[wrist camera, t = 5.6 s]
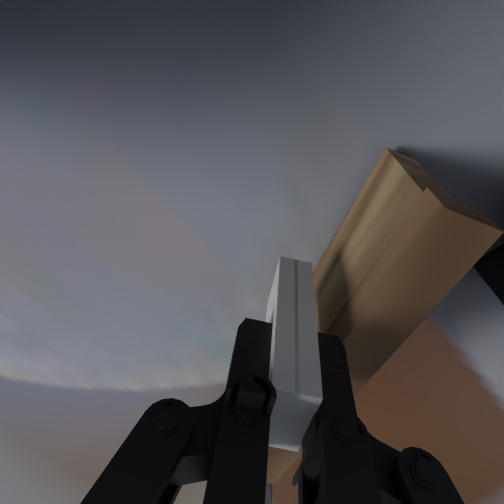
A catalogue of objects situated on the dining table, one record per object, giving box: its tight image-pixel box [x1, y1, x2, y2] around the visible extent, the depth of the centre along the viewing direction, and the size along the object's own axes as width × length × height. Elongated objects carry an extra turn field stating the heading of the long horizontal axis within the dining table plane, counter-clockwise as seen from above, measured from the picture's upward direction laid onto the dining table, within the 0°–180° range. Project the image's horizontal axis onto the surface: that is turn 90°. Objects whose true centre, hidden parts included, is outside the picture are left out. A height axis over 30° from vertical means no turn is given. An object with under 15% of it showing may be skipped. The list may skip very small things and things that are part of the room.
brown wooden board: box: [266, 148, 504, 484], centre depth 17 cm, size 2×17×7 cm, turn 159°
